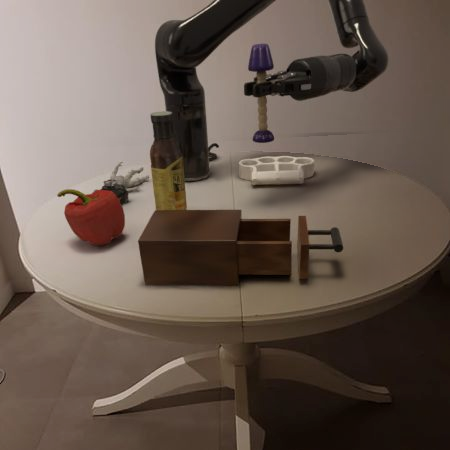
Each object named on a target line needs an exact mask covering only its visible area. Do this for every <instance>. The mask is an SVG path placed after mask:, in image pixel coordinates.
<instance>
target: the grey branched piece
mask: <svg viewBox="0 0 450 450" xmlns="http://www.w3.org/2000/svg"><path fill="white" fill-rule="evenodd" d="M123 163H124V162H123V161H120V162H118V163H117V164H116V166H115V167H114V169H113V171H112V172H111V175H110V177H109V178H108V179H107V180H104V181H103V185H104V184H106V183H107V184H110V185H111V186H112V185H115V184H120V185H123V186H125V188H126V190H127V191H128V193H131V192H134V191H138V190H140V186H136V185H138V184H142V182H144V181H147V180H149V179H150V176H149V175H148V174H147V175H146V176H143V177H142V178H141V177H136V178H134V179H132V178H133V176H134V175H136V174H140V173H142V172H143V171H144V166H141V167H140V168H138V169H136V170H135V169H131V170H130V171H128V172H127V173H126V174H125V176H123V175H117V173H118V171H119V168H120V167H122V166H123V165H122V164H123ZM133 186H134V187H133Z"/></svg>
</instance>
